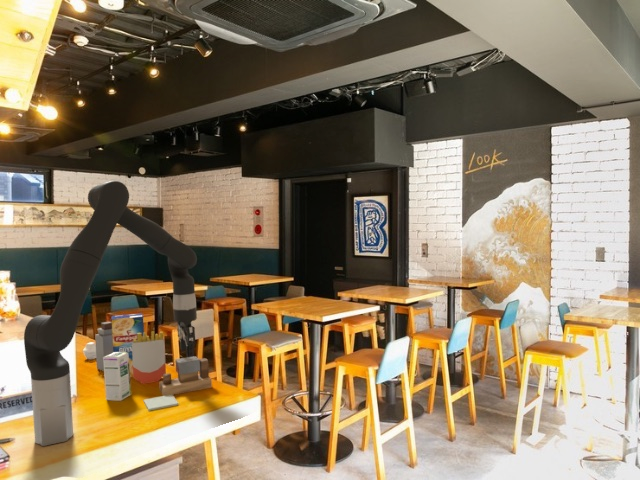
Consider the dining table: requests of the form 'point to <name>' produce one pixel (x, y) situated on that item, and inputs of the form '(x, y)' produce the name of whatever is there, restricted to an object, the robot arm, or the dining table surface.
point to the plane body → (186, 381)
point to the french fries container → (148, 358)
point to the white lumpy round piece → (90, 350)
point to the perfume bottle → (103, 343)
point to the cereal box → (126, 333)
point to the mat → (160, 402)
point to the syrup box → (117, 376)
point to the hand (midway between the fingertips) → (187, 353)
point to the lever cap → (187, 365)
